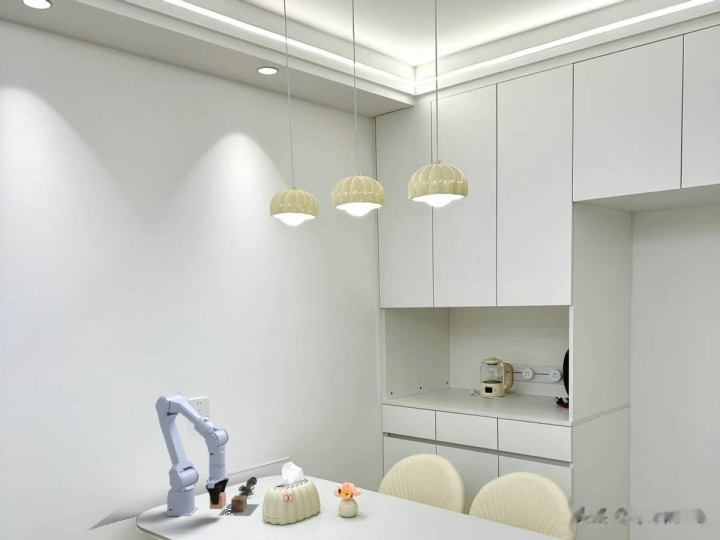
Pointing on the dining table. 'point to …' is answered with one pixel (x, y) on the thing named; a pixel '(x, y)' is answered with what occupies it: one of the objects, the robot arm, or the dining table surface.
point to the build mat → (247, 512)
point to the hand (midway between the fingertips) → (217, 502)
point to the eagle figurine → (248, 486)
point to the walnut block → (238, 503)
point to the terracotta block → (221, 501)
